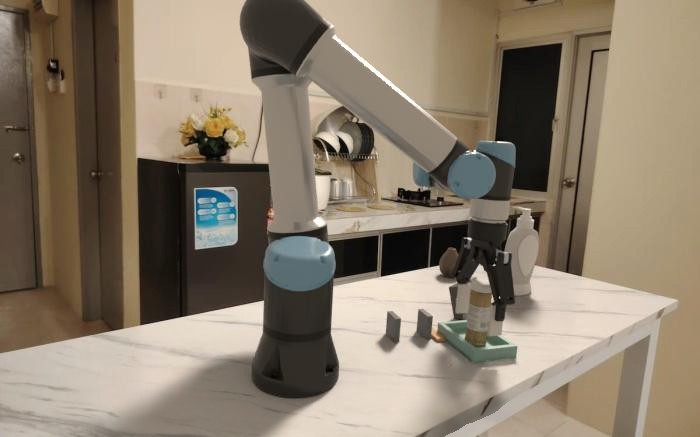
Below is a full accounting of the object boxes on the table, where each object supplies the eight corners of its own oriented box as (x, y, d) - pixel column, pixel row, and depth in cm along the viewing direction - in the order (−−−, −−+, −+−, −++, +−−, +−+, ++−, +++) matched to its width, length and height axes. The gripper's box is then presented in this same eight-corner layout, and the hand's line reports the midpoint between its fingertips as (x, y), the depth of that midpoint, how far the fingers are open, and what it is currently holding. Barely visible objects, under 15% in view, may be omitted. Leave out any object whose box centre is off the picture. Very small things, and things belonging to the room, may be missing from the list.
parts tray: (472, 362, 91) (474, 350, 91) (437, 333, 104) (438, 322, 104) (516, 357, 95) (517, 346, 94) (476, 329, 108) (477, 319, 107)
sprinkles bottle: (479, 337, 102) (487, 277, 100) (490, 347, 98) (498, 284, 95) (460, 338, 101) (467, 277, 99) (469, 347, 97) (478, 284, 94)
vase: (438, 277, 146) (441, 250, 145) (438, 271, 153) (440, 245, 151) (461, 280, 145) (464, 252, 144) (460, 273, 152) (462, 247, 150)
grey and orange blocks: (397, 345, 97) (399, 322, 96) (382, 329, 104) (384, 308, 103) (445, 340, 101) (447, 318, 100) (427, 326, 108) (429, 305, 107)
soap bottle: (519, 285, 143) (529, 205, 139) (540, 293, 136) (551, 209, 132) (486, 289, 137) (496, 206, 133) (506, 298, 130) (517, 210, 126)
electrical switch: (467, 324, 111) (467, 285, 110) (446, 320, 114) (447, 282, 113) (483, 314, 118) (484, 277, 117) (464, 310, 121) (464, 274, 120)
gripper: (545, 231, 85) (530, 346, 89) (471, 209, 107) (462, 302, 111) (510, 232, 83) (496, 349, 86) (442, 209, 105) (433, 304, 108)
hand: (477, 323), depth 99 cm, fingers open, 11 cm apart
